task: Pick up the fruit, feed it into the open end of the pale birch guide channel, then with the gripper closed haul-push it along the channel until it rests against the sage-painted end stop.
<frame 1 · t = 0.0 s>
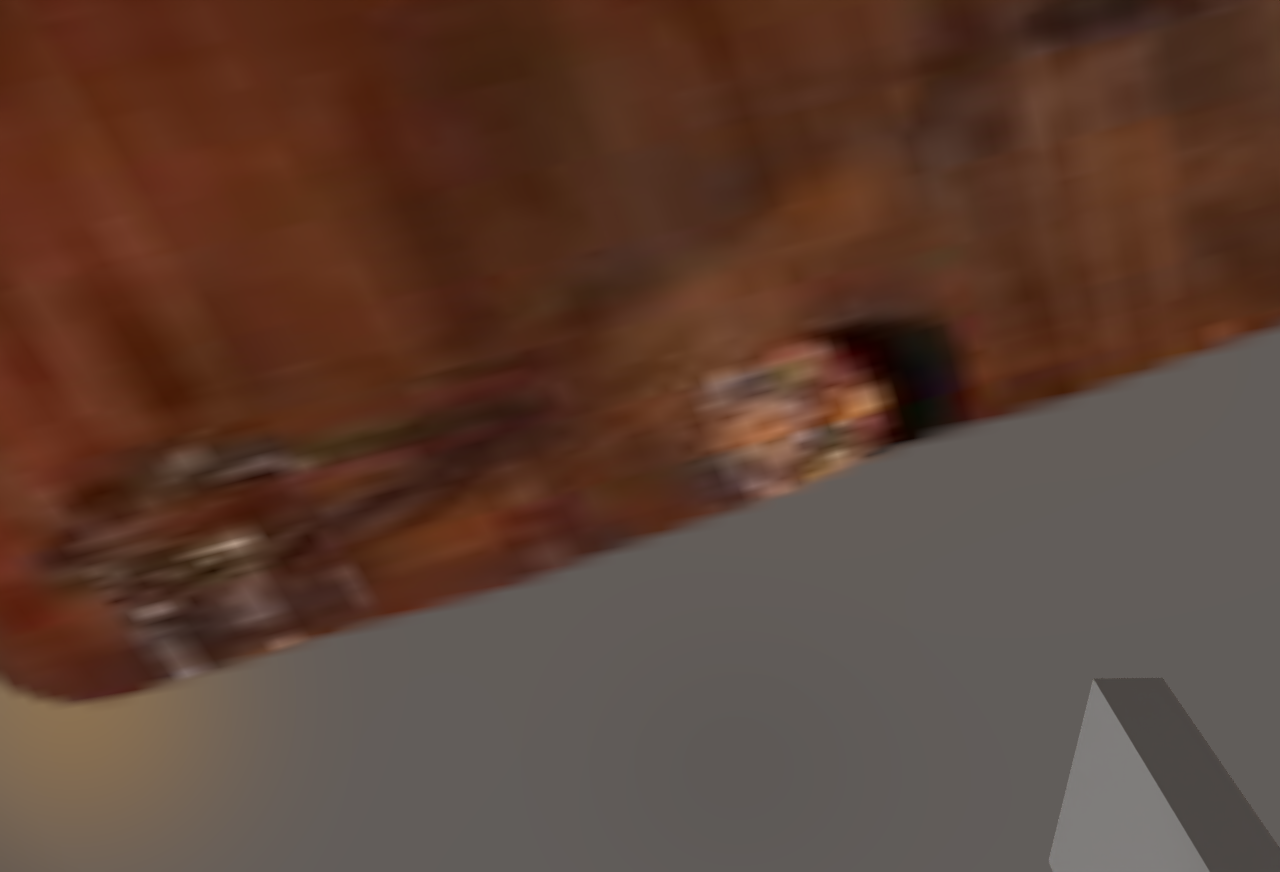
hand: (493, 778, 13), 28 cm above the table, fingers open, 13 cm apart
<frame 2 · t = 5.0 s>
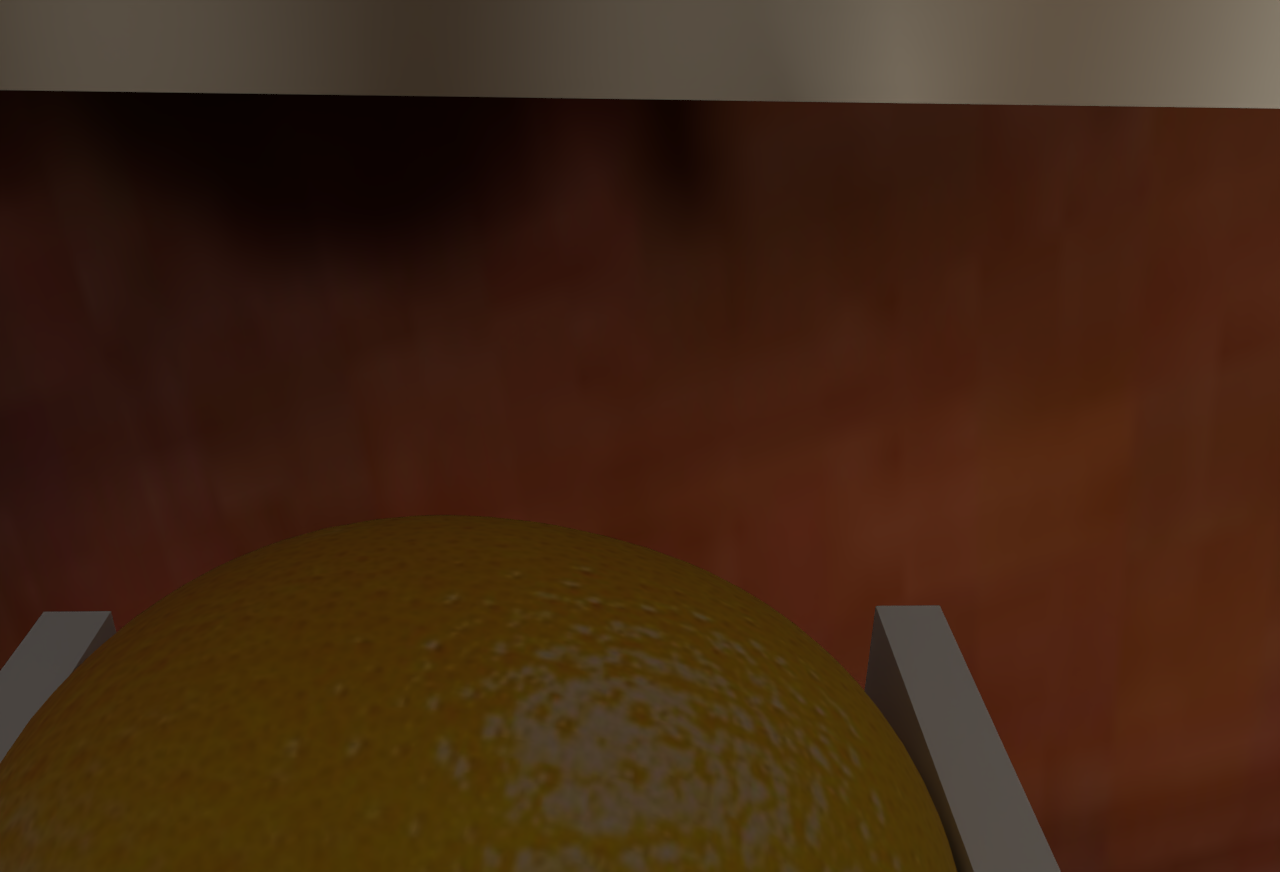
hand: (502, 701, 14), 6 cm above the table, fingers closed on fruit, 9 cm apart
fruit: (506, 674, 14), point 5 cm above the table, touching gripper
when the fingers open (3 cm above the table, at t = 8.5 s): fruit drops 2 cm, resting on channel.
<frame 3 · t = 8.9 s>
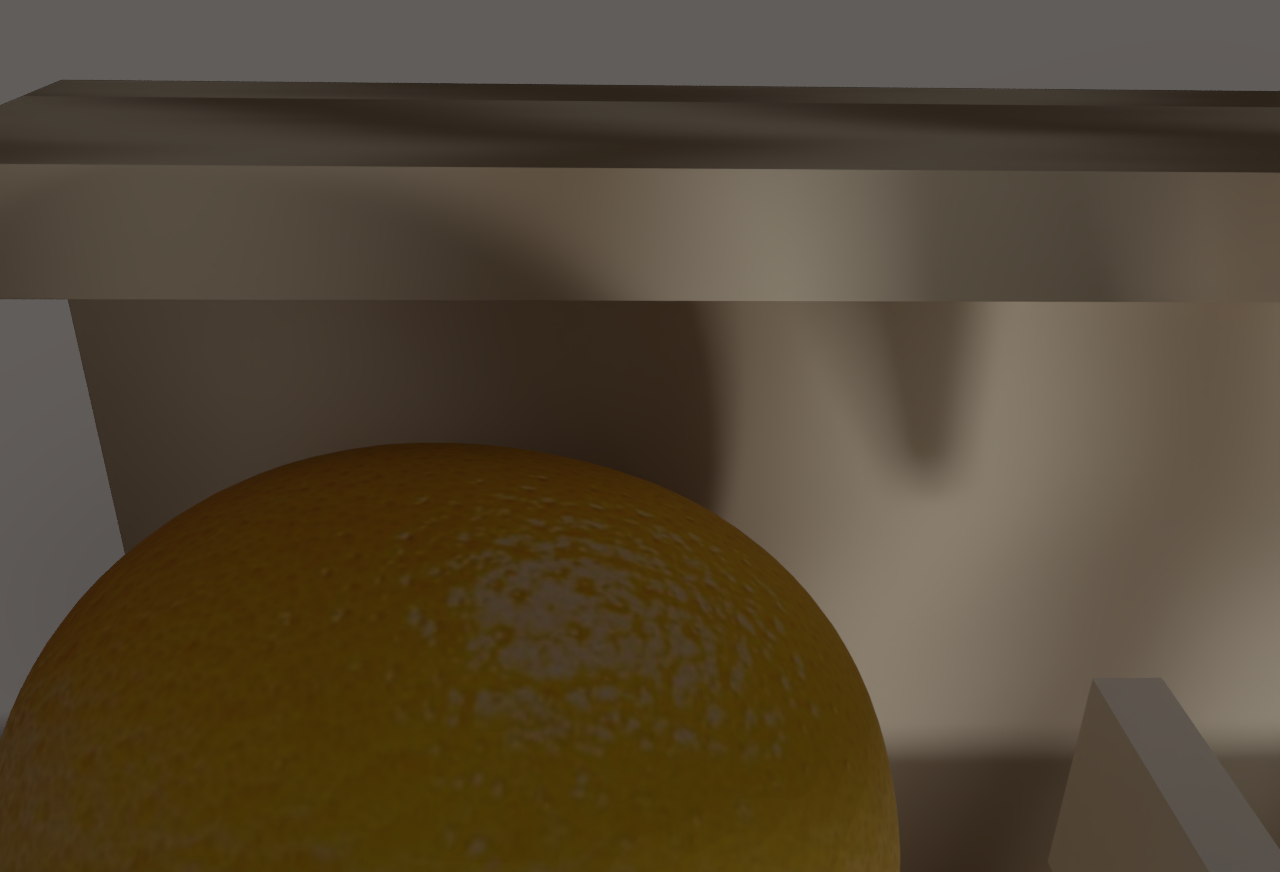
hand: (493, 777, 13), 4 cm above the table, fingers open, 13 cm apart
channel: (1000, 563, 17), on the table
fruit: (489, 600, 16), point 1 cm above the table, touching channel
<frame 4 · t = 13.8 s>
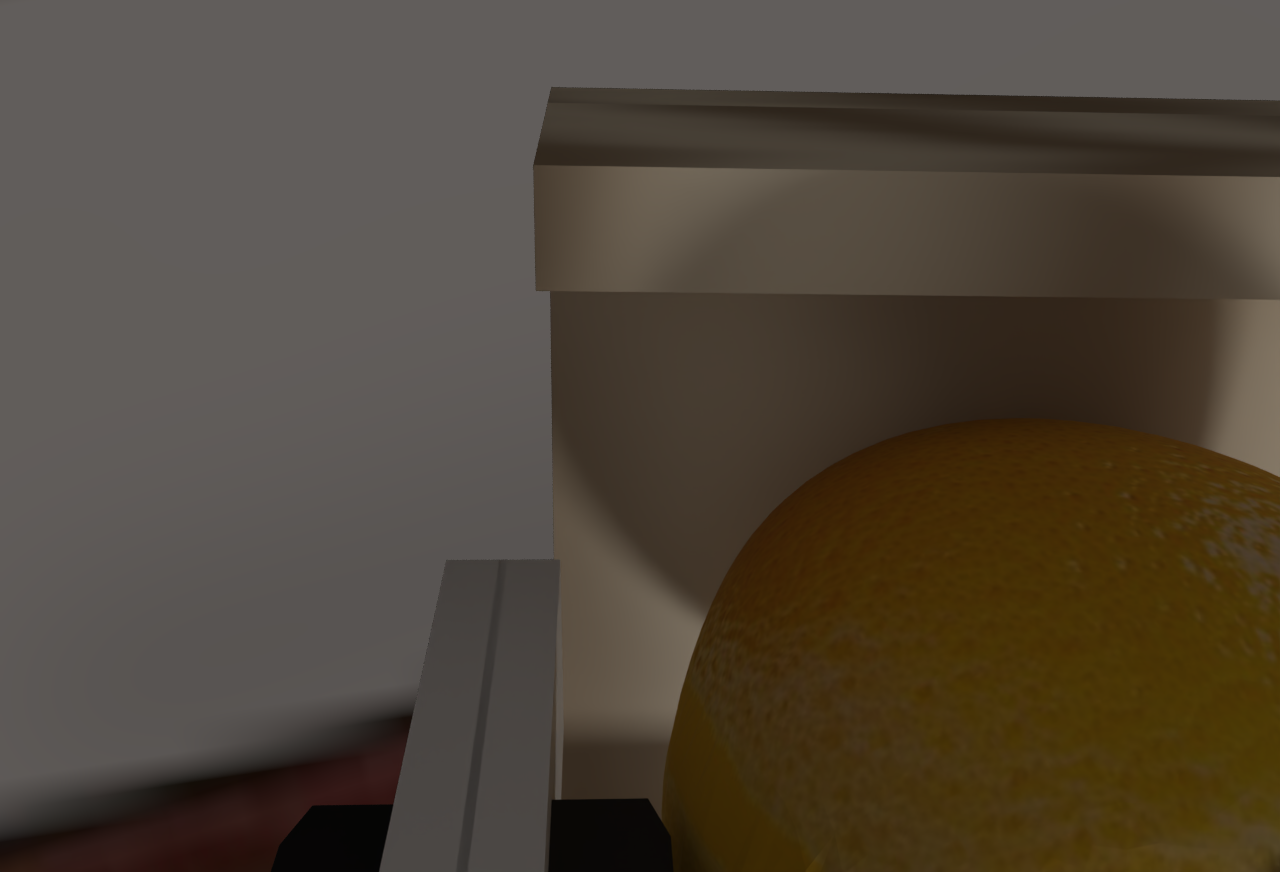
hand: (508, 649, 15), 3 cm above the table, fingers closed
fruit: (954, 576, 16), point 1 cm above the table, touching channel, gripper
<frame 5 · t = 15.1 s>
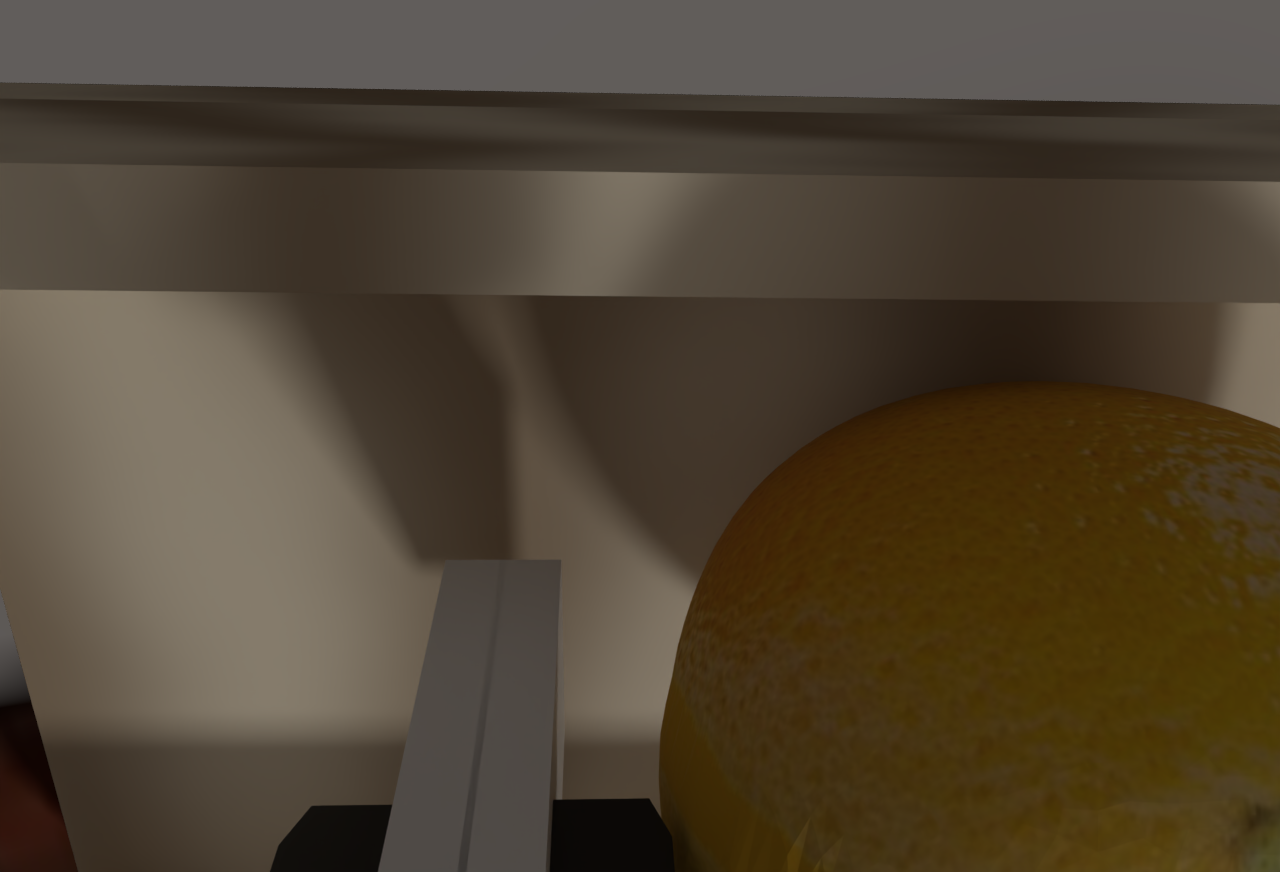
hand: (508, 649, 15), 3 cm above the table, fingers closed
channel: (844, 554, 17), on the table
fruit: (952, 548, 16), point 1 cm above the table, touching channel, gripper
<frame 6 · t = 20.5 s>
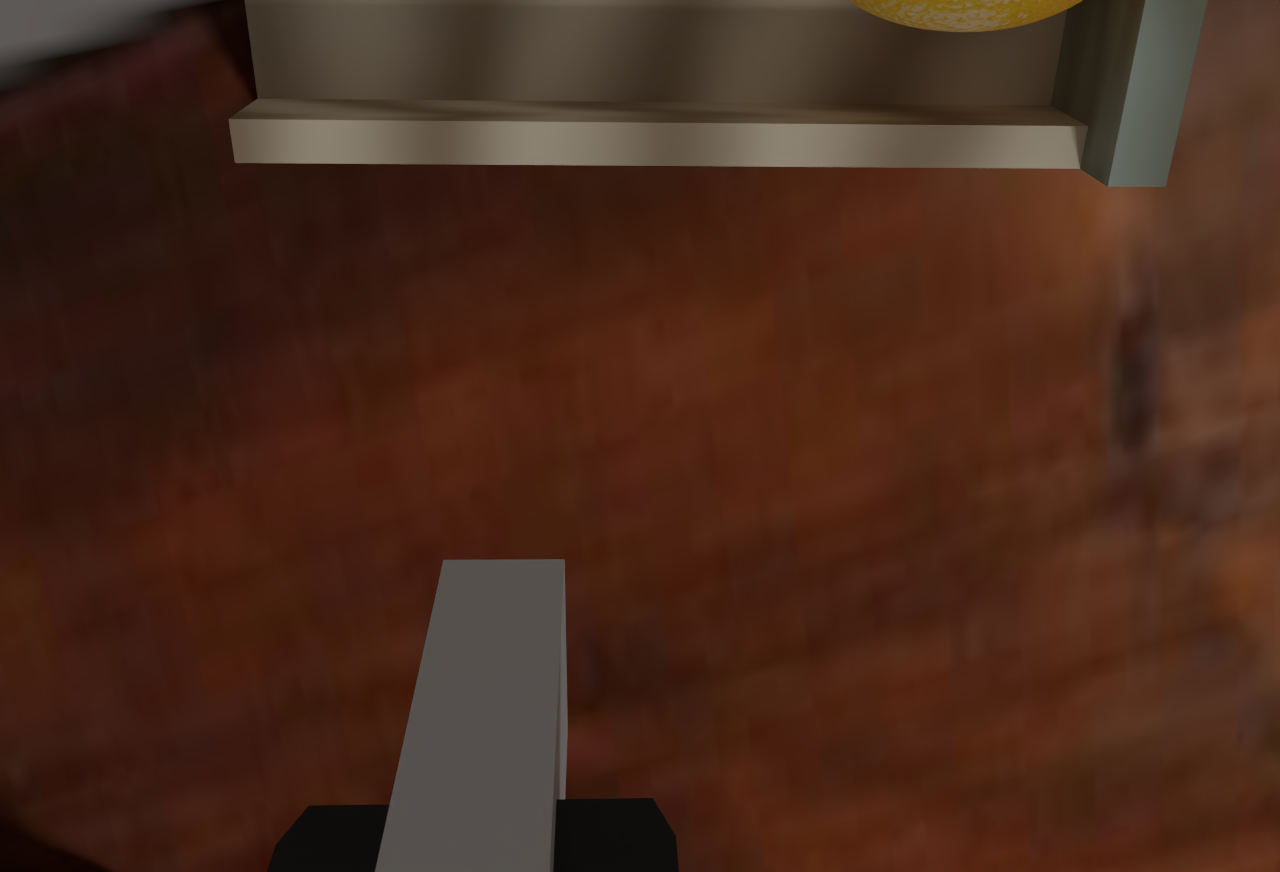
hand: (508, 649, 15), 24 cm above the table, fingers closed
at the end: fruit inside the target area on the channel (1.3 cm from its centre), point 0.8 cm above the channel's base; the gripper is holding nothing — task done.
